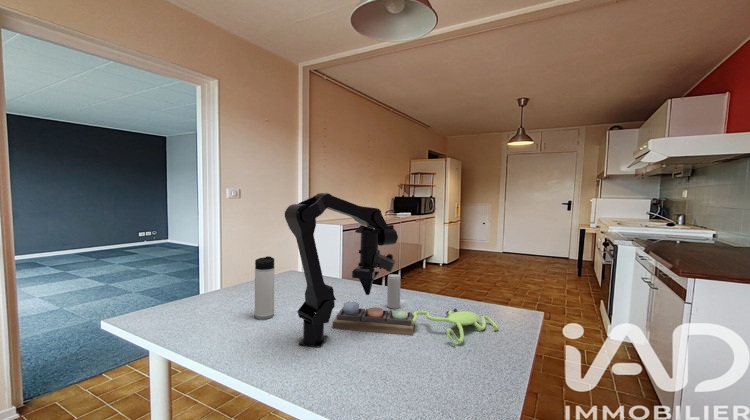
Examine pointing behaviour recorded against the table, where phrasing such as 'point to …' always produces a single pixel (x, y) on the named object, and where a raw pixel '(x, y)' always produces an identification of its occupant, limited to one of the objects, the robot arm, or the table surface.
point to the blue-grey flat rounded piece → (351, 308)
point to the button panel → (373, 323)
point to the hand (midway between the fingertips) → (367, 294)
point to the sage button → (400, 314)
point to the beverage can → (393, 291)
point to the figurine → (457, 321)
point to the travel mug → (264, 288)
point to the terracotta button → (375, 312)
